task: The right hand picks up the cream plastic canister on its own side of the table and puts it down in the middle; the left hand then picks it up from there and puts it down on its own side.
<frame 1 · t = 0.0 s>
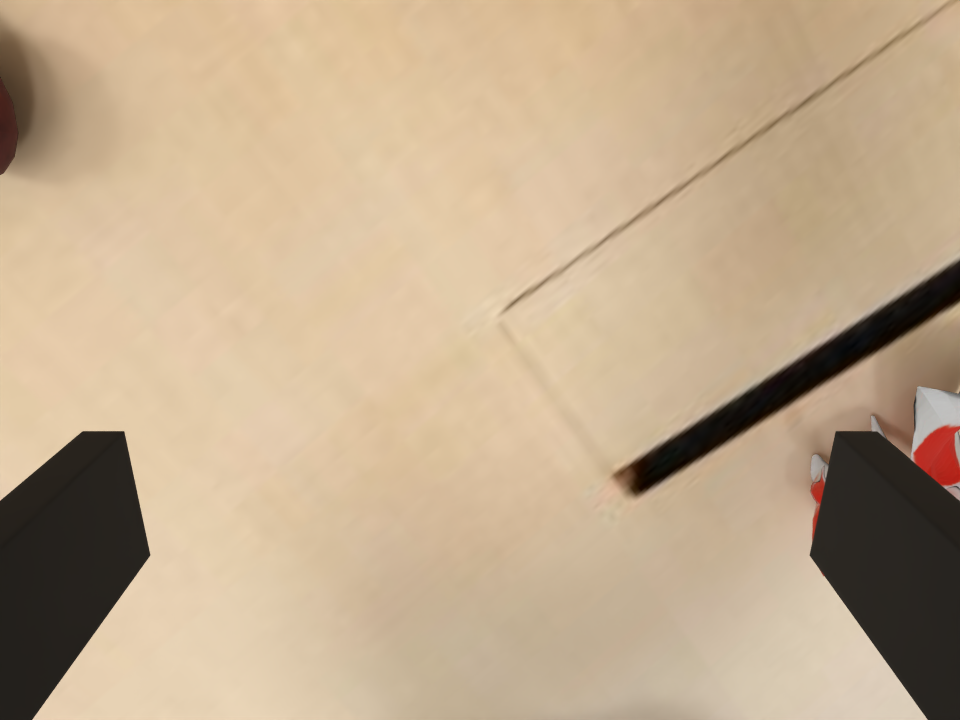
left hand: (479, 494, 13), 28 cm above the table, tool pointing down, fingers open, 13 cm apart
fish: (874, 433, 44), on the table
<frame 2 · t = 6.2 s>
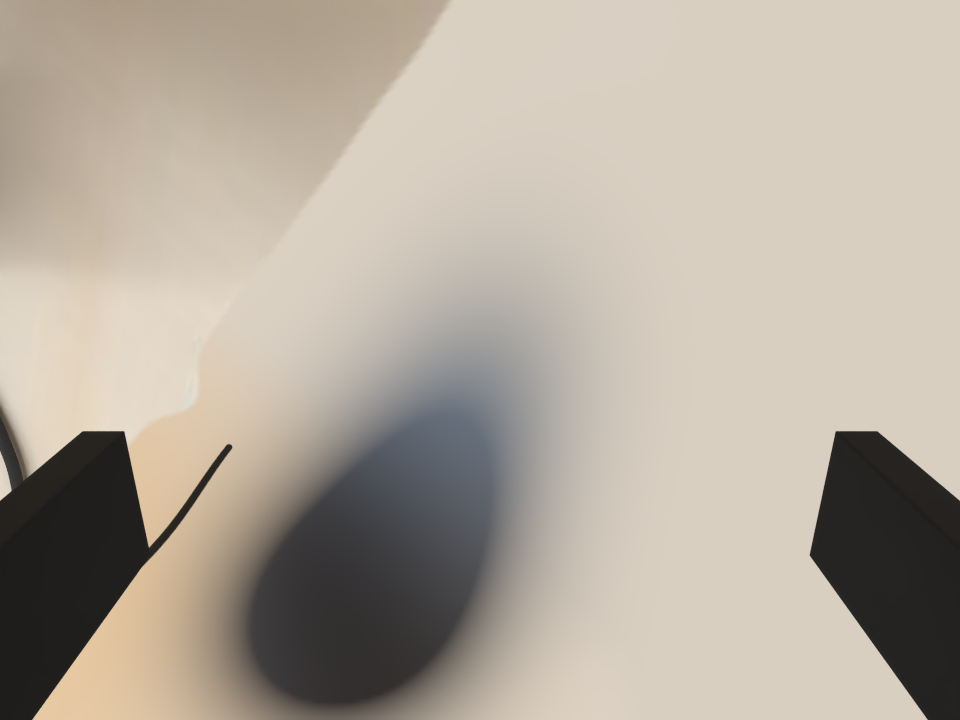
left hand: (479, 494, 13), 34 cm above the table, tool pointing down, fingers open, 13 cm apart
when the right hand's fingers open (4 cm above the table, at t = 18.6 s): canister drops 1 cm, on the table.
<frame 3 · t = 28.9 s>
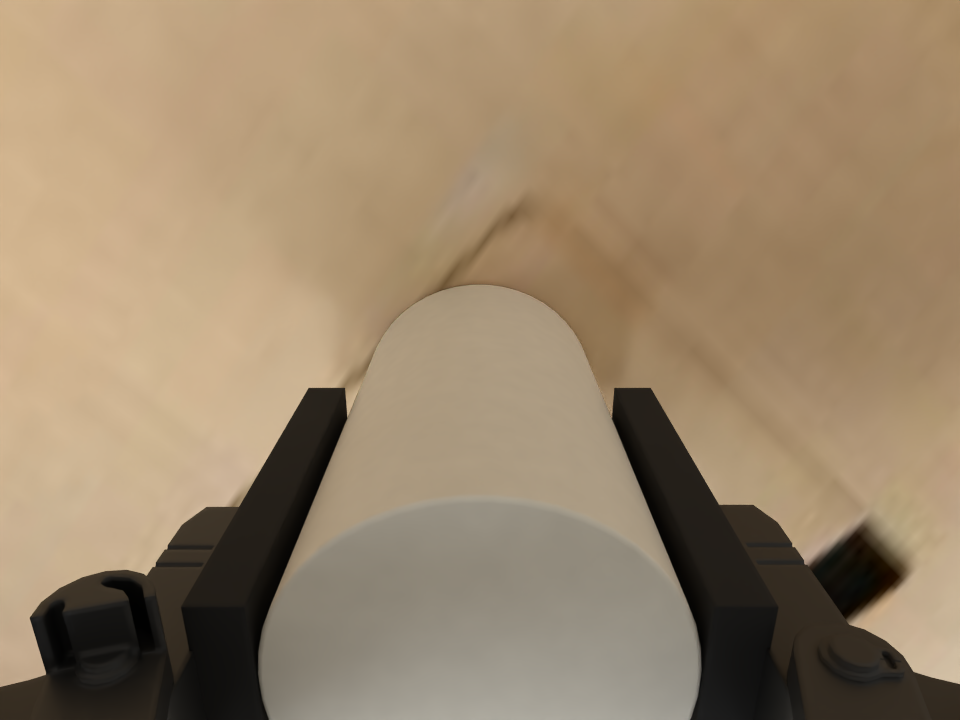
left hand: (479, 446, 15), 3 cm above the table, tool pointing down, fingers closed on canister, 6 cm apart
canister: (479, 391, 17), on the table, touching left hand
when the left hand's fingers open (4 cm above the table, at t = 36.7 s): canister drops 1 cm, on the table.
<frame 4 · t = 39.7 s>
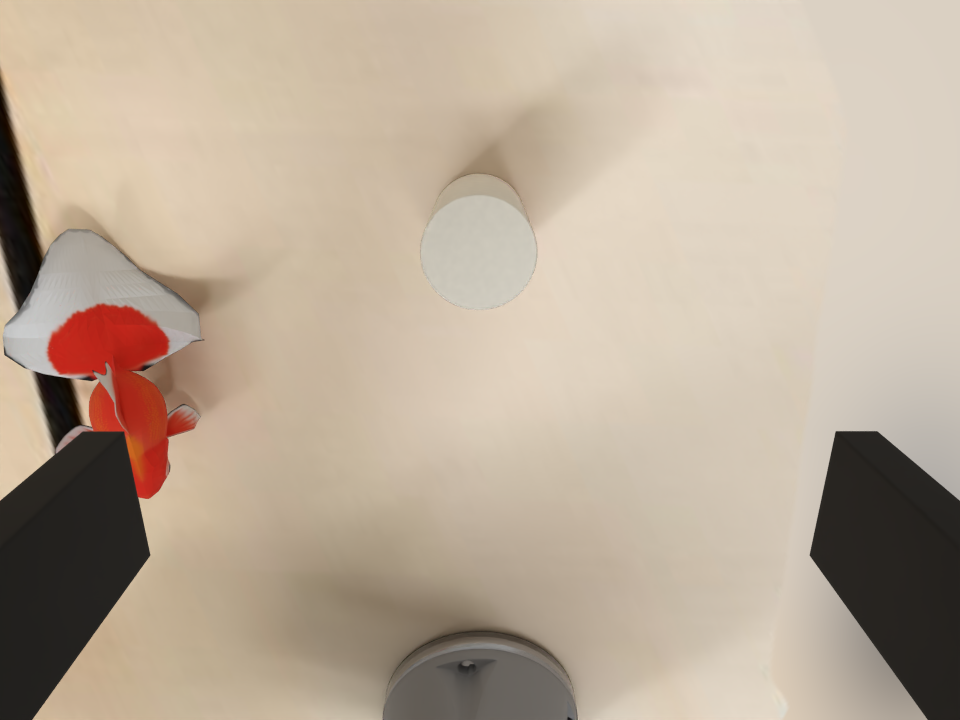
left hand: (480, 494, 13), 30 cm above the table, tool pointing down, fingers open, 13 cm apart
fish: (141, 341, 44), on the table
canister: (479, 221, 41), on the table
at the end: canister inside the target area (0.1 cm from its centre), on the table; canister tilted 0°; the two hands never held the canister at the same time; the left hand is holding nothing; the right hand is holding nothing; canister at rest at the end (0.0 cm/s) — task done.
